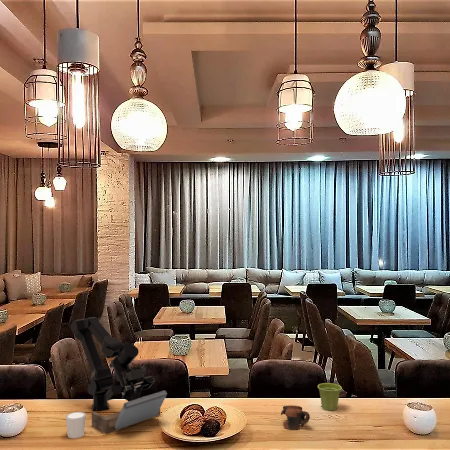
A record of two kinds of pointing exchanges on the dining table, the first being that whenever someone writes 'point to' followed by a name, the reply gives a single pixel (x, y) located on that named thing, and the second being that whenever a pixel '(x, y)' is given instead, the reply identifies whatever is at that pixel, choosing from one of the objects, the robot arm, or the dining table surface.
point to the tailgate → (140, 409)
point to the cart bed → (108, 422)
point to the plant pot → (329, 395)
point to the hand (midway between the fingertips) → (139, 408)
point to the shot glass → (75, 424)
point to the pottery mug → (295, 417)
